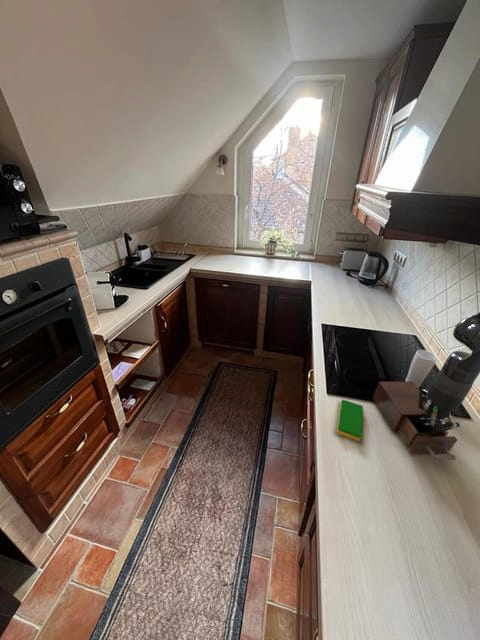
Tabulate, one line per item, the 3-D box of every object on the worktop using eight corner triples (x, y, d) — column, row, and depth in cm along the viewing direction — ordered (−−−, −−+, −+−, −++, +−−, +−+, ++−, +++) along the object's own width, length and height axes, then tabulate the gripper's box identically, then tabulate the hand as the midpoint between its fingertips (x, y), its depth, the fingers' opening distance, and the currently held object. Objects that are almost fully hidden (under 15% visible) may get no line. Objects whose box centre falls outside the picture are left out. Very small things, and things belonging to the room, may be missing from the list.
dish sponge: (361, 410, 91) (363, 405, 90) (359, 442, 80) (361, 437, 79) (340, 403, 94) (342, 399, 93) (336, 433, 83) (338, 428, 82)
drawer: (458, 468, 73) (469, 453, 70) (419, 468, 73) (428, 454, 69) (419, 417, 88) (427, 403, 85) (387, 417, 88) (393, 403, 85)
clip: (430, 424, 79) (434, 416, 78) (436, 432, 77) (441, 425, 75) (414, 424, 79) (418, 416, 78) (420, 432, 77) (424, 425, 75)
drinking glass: (425, 391, 100) (440, 361, 93) (406, 388, 101) (421, 359, 94) (417, 379, 106) (431, 350, 99) (400, 377, 107) (413, 348, 100)
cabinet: (430, 432, 84) (441, 414, 80) (392, 432, 84) (401, 414, 80) (404, 398, 97) (412, 381, 93) (372, 398, 97) (379, 381, 92)
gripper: (485, 407, 63) (454, 449, 72) (445, 369, 76) (422, 409, 84) (456, 407, 63) (428, 449, 72) (420, 369, 75) (400, 409, 84)
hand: (425, 427), depth 78 cm, fingers closed on clip, 3 cm apart
